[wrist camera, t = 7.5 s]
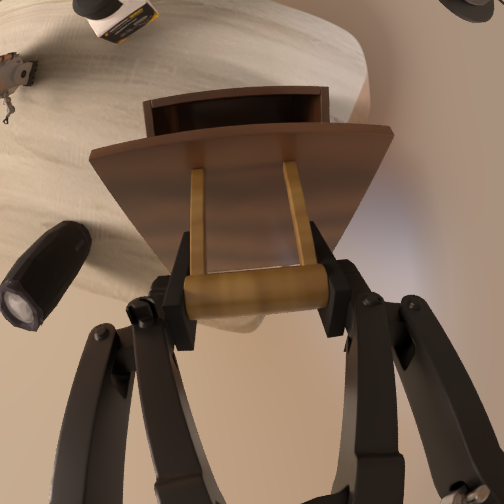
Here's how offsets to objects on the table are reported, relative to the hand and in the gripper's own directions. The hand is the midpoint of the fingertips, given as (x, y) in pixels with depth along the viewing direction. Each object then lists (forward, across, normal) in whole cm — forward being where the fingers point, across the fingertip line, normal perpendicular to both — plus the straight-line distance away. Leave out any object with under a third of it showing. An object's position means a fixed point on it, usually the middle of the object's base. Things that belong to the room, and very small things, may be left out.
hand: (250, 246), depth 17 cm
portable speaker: (+25, -30, -9) cm, 40 cm away
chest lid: (+5, 0, 0) cm, 5 cm away
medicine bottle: (+25, -14, +25) cm, 38 cm away
